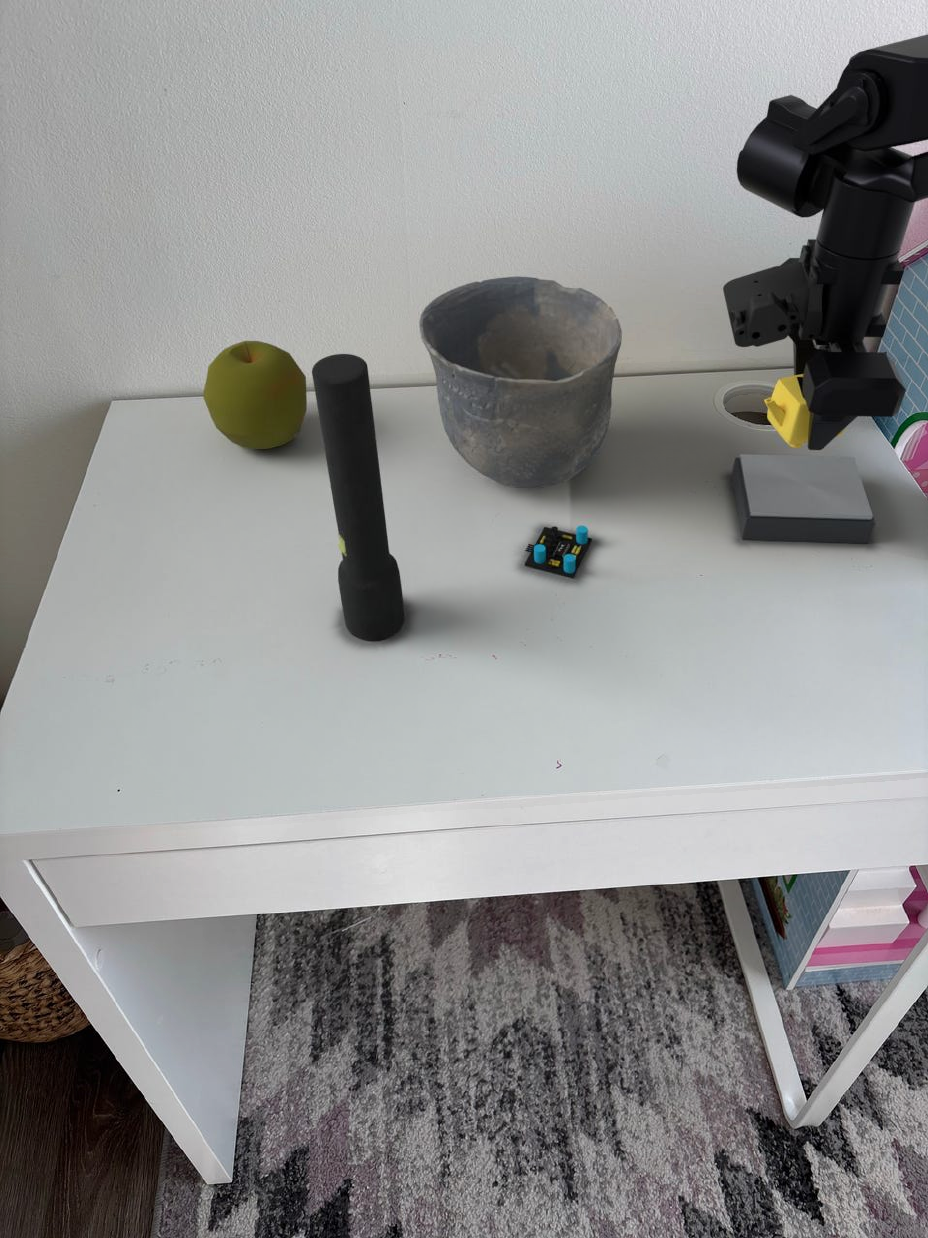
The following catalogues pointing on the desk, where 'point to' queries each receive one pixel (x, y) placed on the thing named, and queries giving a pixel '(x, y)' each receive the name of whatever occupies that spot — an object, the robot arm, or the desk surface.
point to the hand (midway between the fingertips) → (807, 425)
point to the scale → (801, 499)
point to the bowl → (523, 376)
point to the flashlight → (357, 499)
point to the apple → (256, 395)
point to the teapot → (789, 412)
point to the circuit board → (559, 551)
